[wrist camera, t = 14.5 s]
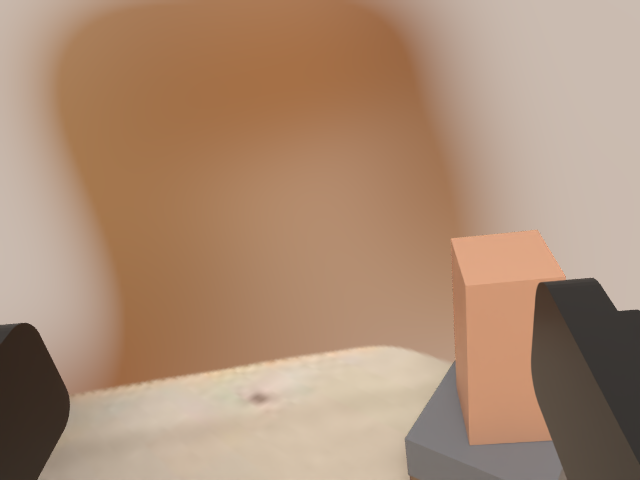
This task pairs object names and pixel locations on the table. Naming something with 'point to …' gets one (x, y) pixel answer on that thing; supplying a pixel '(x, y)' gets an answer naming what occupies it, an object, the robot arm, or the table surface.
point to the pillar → (498, 333)
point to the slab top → (470, 447)
